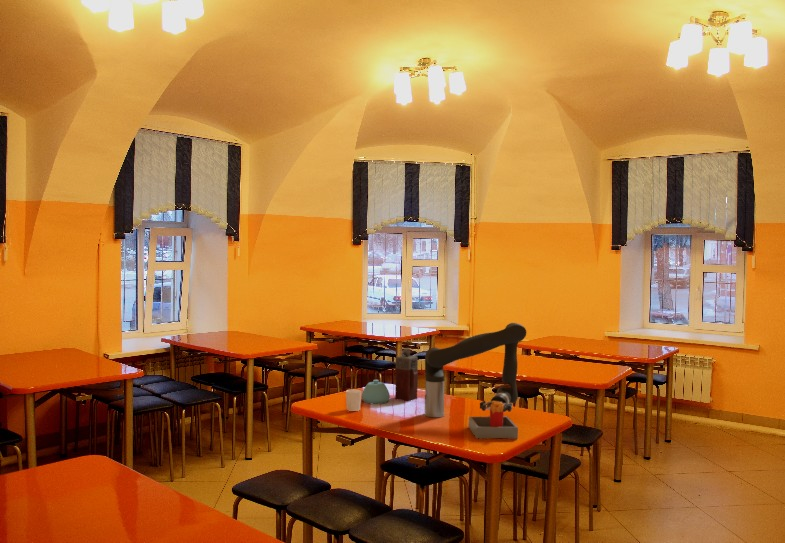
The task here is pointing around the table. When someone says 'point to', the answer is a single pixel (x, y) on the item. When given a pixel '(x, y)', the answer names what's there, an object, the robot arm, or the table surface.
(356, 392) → the white cup
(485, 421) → the bin
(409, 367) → the brown coffee grinder
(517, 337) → the robot arm
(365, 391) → the sugar bowl
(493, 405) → the french fries
